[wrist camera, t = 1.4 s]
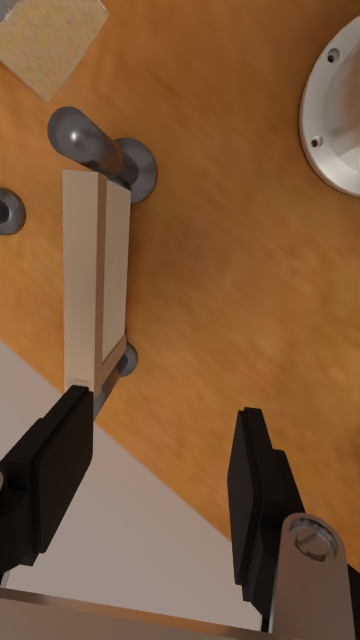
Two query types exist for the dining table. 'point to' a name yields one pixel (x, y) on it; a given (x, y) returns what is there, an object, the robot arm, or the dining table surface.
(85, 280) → the panel
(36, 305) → the dining table surface
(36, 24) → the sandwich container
